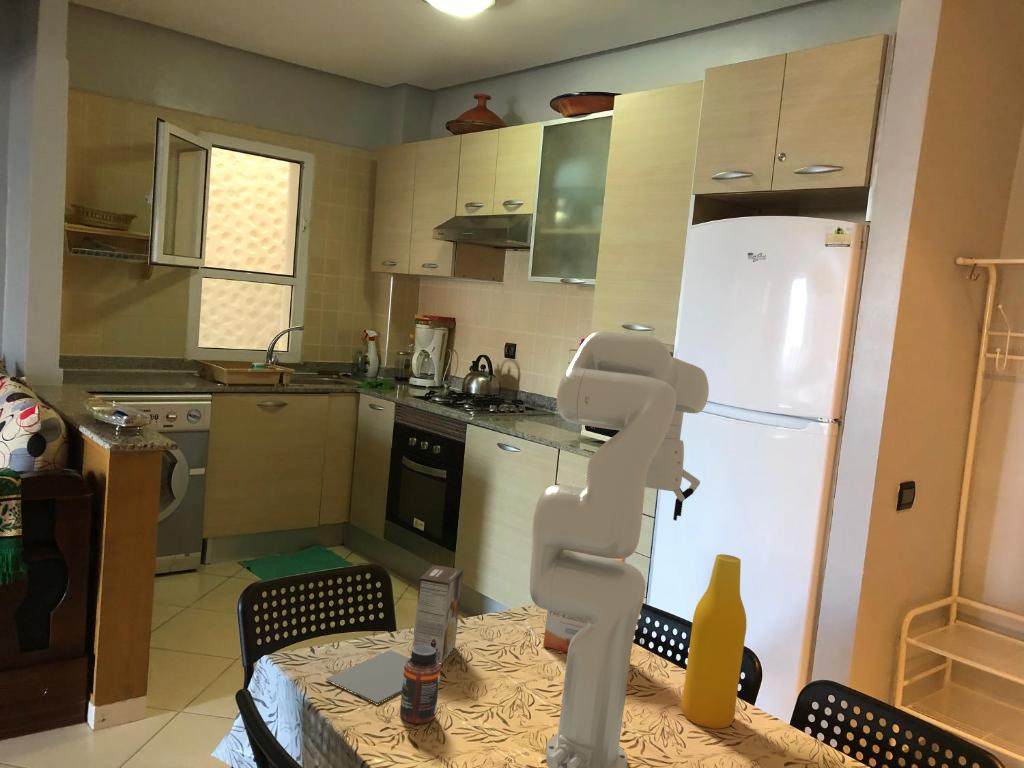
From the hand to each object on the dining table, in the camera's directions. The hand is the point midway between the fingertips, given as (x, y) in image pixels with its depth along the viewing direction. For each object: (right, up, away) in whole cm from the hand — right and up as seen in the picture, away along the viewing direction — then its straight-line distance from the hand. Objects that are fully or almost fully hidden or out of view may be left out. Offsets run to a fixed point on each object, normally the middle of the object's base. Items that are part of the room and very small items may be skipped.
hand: (650, 515), depth 159 cm
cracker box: (-14, -29, +4) cm, 32 cm away
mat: (-51, -26, -17) cm, 60 cm away
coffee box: (-43, -26, -5) cm, 51 cm away
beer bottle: (+7, -33, -18) cm, 38 cm away
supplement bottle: (-44, -28, -29) cm, 60 cm away
